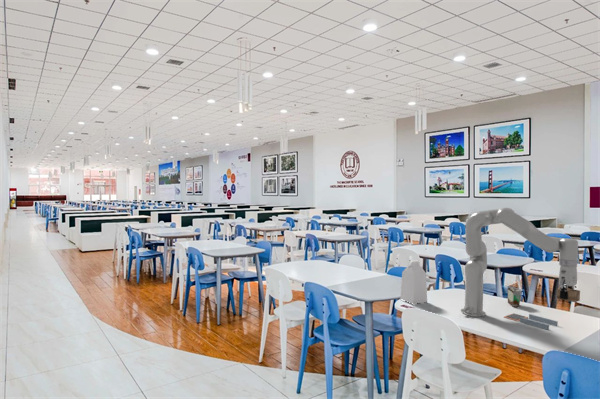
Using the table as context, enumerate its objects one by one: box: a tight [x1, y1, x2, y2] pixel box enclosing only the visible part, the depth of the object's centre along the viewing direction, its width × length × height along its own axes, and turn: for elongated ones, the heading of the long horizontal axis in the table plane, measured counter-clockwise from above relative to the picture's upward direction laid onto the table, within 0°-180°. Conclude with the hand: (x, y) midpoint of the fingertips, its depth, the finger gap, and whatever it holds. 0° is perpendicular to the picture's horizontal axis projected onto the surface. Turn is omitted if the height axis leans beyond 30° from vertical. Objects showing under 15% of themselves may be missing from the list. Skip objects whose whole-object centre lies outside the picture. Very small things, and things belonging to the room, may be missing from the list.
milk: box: [399, 260, 428, 305], centre depth 247 cm, size 12×12×26 cm
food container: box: [506, 286, 522, 308], centre depth 241 cm, size 12×6×10 cm, turn 168°
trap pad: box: [503, 312, 529, 322], centre depth 218 cm, size 11×8×1 cm
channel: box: [519, 313, 559, 331], centre depth 208 cm, size 11×14×2 cm
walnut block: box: [556, 287, 581, 303], centre depth 196 cm, size 6×8×5 cm
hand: (566, 297), depth 196 cm, fingers closed on walnut block, 6 cm apart
